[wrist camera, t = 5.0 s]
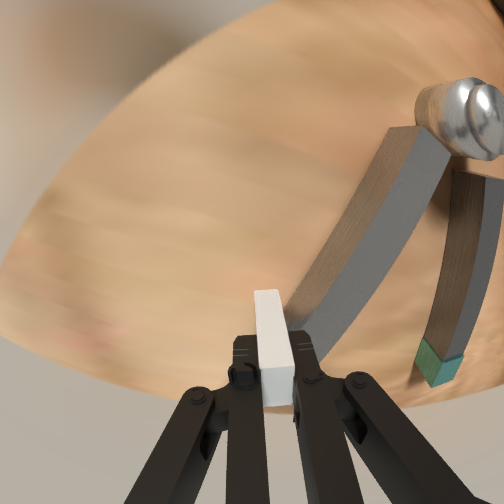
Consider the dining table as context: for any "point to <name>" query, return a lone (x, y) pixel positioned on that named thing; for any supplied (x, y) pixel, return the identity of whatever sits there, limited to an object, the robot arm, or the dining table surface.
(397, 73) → the dining table surface
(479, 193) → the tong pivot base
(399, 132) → the tong swing arm
